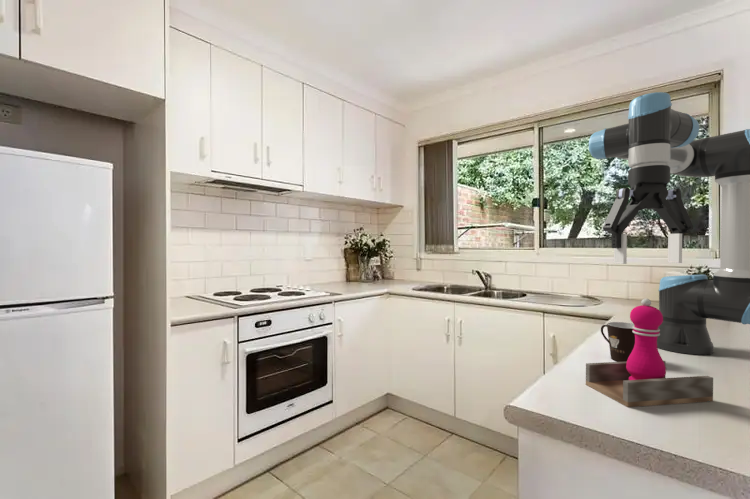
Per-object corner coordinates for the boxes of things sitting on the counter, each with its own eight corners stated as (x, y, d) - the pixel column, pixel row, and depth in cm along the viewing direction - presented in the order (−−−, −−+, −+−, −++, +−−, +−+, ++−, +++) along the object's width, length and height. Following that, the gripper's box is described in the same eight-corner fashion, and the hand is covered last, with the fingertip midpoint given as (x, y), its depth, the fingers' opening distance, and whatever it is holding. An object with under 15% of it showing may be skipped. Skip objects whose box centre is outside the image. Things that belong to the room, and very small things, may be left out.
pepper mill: (630, 379, 90) (630, 295, 89) (668, 388, 85) (669, 298, 84) (622, 388, 85) (623, 298, 84) (662, 397, 80) (663, 302, 79)
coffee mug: (648, 365, 103) (649, 329, 103) (613, 363, 105) (614, 327, 104) (629, 353, 114) (629, 320, 114) (597, 351, 116) (598, 319, 116)
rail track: (660, 380, 92) (661, 359, 92) (712, 401, 80) (713, 377, 80) (585, 384, 90) (585, 363, 89) (627, 407, 77) (627, 382, 77)
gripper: (682, 171, 89) (681, 261, 90) (585, 169, 86) (584, 262, 86) (715, 164, 82) (713, 263, 82) (610, 162, 78) (609, 264, 79)
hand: (647, 263), depth 84 cm, fingers open, 13 cm apart
